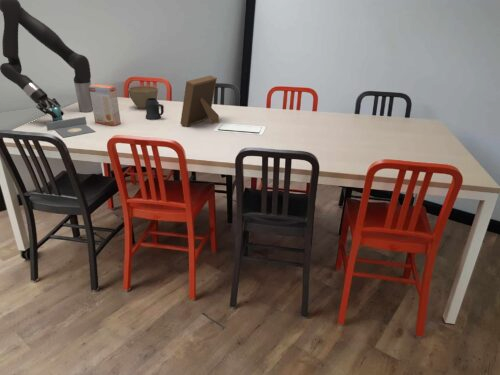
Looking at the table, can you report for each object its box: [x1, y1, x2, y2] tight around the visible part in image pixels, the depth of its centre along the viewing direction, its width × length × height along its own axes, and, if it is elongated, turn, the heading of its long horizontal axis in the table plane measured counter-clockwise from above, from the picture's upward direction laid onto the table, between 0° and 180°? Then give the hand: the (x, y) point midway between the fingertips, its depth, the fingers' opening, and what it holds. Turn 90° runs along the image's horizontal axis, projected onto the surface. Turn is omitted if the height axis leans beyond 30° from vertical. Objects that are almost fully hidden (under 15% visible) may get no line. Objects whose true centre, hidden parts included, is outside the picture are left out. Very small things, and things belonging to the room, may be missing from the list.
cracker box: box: [89, 83, 122, 127], centre depth 206 cm, size 14×6×21 cm, turn 65°
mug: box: [145, 98, 165, 121], centre depth 219 cm, size 12×9×11 cm
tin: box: [50, 105, 64, 122], centre depth 207 cm, size 5×5×9 cm
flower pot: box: [127, 85, 159, 110], centre depth 240 cm, size 18×18×12 cm
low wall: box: [45, 116, 88, 131], centre depth 202 cm, size 20×1×4 cm, turn 130°
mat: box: [53, 124, 96, 139], centre depth 197 cm, size 16×16×1 cm
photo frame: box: [179, 75, 220, 128], centre depth 209 cm, size 15×22×25 cm
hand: (59, 116), depth 206 cm, fingers closed on tin, 5 cm apart
